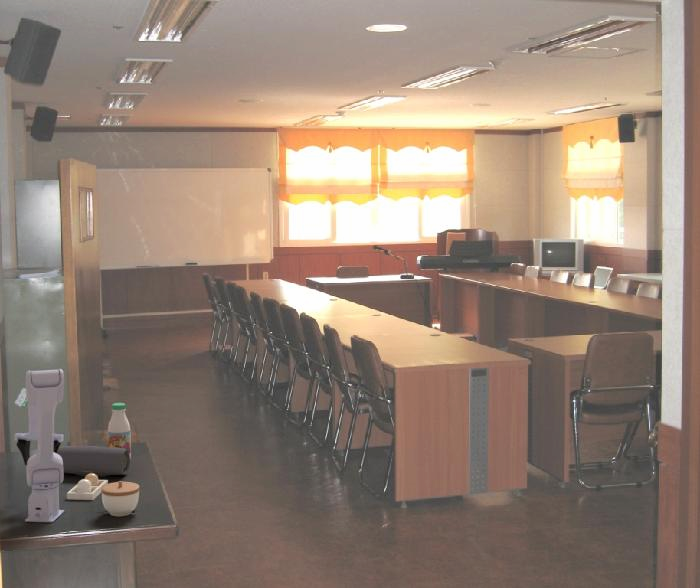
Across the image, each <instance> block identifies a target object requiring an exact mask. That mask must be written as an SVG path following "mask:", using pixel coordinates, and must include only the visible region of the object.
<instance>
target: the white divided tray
mask: <svg viewBox="0 0 700 588" xmlns="http://www.w3.org/2000/svg"><path fill="white" fill-rule="evenodd" d="M106 484H109V480H108V479H98V486H91V490H92V493H79V492H77V484H75V486H73V487H72V488H71V489H70V490H69V491H68V492H67V493H66V500H79V501H80V500H81V501H94V500H95V499H96V498H97V497H98V496H100V494H102V492H101V488H102V487H103V486H104V485H106Z"/></svg>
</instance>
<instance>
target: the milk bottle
mask: <svg viewBox="0 0 700 588" xmlns="http://www.w3.org/2000/svg"><path fill="white" fill-rule="evenodd" d="M126 410H127V409H126V403H123V402H115V403H112V404H111V413H112V414H111V417H110V420H109V422H108V426H107V447H115V448H124V449H128V451H129V455H130V460H131V459H132V451H131V450H132V449H131V448H132V447H131V441H132V440H131V425H130V423H129V420H128V417H127V415H126Z"/></svg>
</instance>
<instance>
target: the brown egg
mask: <svg viewBox="0 0 700 588" xmlns="http://www.w3.org/2000/svg"><path fill="white" fill-rule="evenodd" d="M84 479H87V480H89V481H90V483H91V486H98V480H99V476H97V475H96V474H93V473H90V474H88V475H86V476H84Z"/></svg>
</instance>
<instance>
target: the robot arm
mask: <svg viewBox="0 0 700 588" xmlns="http://www.w3.org/2000/svg"><path fill="white" fill-rule="evenodd" d="M25 396H26V401H27V404H28V405H27V407H28V408H27V410H28V432H23V433H22V432H18V433H17V432H16V433H15V434H14V435H13V436H14V437H13V438H14V442H17V443H16V447H17V449H18V450H19V452H20V453H21V456H22V459H23V462H24V463H23V464H24V466H26V471H25V472H26V473H25V474H26V483H27V486H29V487H31V494H30V495H29V496H28V499H27V511H28V512H27V515H28V516H27V518H26V519H24V520H25V521H24V522H31V523H32V522H34V523H53V522H55V520H56V519H58V518H59V517H60V516H62V514H64V513H65V510H64V509H60V497H59V496H60V492H59V487H60V484H62V483H63V482H64V479H65V478H64V477H65V476H64V474H65V473H64V470H63V460H62V458H61V456H60V455H58V454H57V451H58V449H59V447H61V444H62V442H64V440H65V439H64V438H65V436H64V434H62V433H61V434H60V433H59V434H58V433H55V413H56V410H57V406H58V405H59V404H61V403H62V402H63V401H64V396H65V376H64V370H63V369H62V368H58V369H45V370H27V372H25ZM31 442H37V444H36V445H37V447H36V453H35V454H33V455H32V456H30V452H31V451H30V450H31Z"/></svg>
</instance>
